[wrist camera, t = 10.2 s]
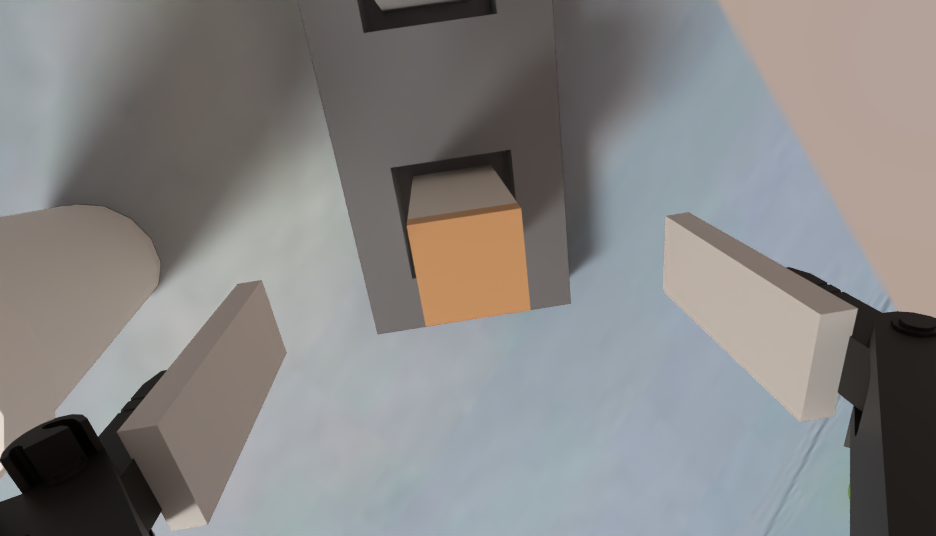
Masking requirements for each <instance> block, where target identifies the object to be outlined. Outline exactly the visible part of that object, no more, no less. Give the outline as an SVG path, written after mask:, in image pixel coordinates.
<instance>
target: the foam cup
mask: <svg viewBox="0 0 936 536" xmlns="http://www.w3.org/2000/svg"><path fill="white" fill-rule="evenodd" d="M160 265H161V262H160V260H159V258H158V255H157V253H156V250H155V248H154V245H153V243H152V240H151V239H150V238H149V237H148V236H147V235H146V234H145V233H144V232H143V231H142V230H141V229H140V228H139V227H138V226H137V225H136V224H135V223H134V222H133V221H132V220H131V219H130V218H128V217H125V216H123V215H121V214H119V213H117V212H115V211H112V210H110V209H108V208H106V207H104V206H92V205H76V204H74V205H71V206H61V207H55V208H49V209H44V210H38V211H32V212H27V213H21V214H15V215H9V216H4V217H0V457H1V454H2V452H3V451H4V450H5V449H6V448H7V447H8V446H9V445H10V444H11V443H12V442H13V441H14V440H16V439H17V438H18V437H20V436H21V435H23V434H24V433H25V432H27V431H29V430H31V429H33V428H35V427H36V426H38V425H40V424H42V423H45V422H47V421H50V420H52V419H55V411H56V409H57V408H58V407H59V406H60V405H61V403H62V402H63V401H64V400H65V398H66V397H67V396H68V395H69V394H70V392H71V391H72V390H73V389H74V388H75V386H76V385H77V384H78V383H79V381H80V380H81V379H82V378H83V377H84V375H85V374H86V373H87V372H88V371H89V369H90V368H91V367H92V366H93V364H94V363H95V362H96V361H97V360H98V358H99V357H100V356H101V355H102V354H103V352H104V351H105V350H106V349H107V348H108V346H109V345H110V344H111V343H112V341H113V340H114V339H115V338H116V337H117V335H118V334H119V333H120V332H121V331H122V329H123V328H124V327H125V326H126V324H127V323H128V322H129V321H130V320H131V318H132V317H133V316H134V315H135V314H136V312H137V311H138V310H139V309H140V307H141V306H142V305H143V304H144V302H145V301H146V300H147V299H148V298H149V296H150V295H151V294H152V293H153V291H154V290H155V288H156V287H157V286H158V283H159V274H160ZM6 473H7V471H6V470H5V468H4V467H3V465H2V464H1V463H0V479H1V478H2V477H3V476H4V475H5V474H6Z"/></svg>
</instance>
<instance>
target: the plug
mask: <svg viewBox="0 0 936 536" xmlns="http://www.w3.org/2000/svg"><path fill="white" fill-rule="evenodd" d="M407 230H408V236H409V241H410V246H411V251H412V257H413V262H414V267H415V273H416V278H417V283H418V288H419V294H420V299H421V304H422V309H423V315H424V320H425V325H426V326H432V325H439V324H445V323H452V322H458V321H464V320H471V319H477V318H484V317H490V316H497V315H503V314H509V313H516V312H522V311H529V310H531V309H530V298H529V287H528V277H527V266H526V255H525V244H524V233H523V222H522V212H521V207H520V206H519V204H518V203H517V202H516V200H515V199H514V197H513V196H512V194H511V193H510V192H509V190H508V189H507V187H506V186H505V184H504V183H503V182H502V180H501V179H500V177H499V176H498V174H497V173H496V171H495V170H494V169H493V167H492V166H491V165H485V166H478V167H472V168H465V169H458V170H451V171H445V172H438V173H431V174H424V175H418V176H413V180H412V188H411V196H410V203H409V211H408V219H407Z"/></svg>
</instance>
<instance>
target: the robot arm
mask: <svg viewBox="0 0 936 536" xmlns="http://www.w3.org/2000/svg"><path fill="white" fill-rule="evenodd" d="M663 292H664V293H666V294H667V295H668V296H669V297H670V298H671V299H672V300H673V301H674V302H675V303H676V304H677V305H678V306H679V307H680V308H681V309H682V310H683V311H684V312H685V313H686V314H688V315H689V316H690V317H691V318H692V319H693V320H694V321H695V322H696V323H697V324H698V325H699V326H700V327H701V328H702V329H703V330H704V331H705V332H706V333H707V334H708V335H710V336H711V337H712V338H713V339H714V340H715V341H716V342H717V343H718V344H719V345H720V346H721V347H722V348H723V349H724V350H725V351H726V352H727V353H728V354H729V355H731V356H732V357H733V358H734V359H735V360H736V361H737V362H738V363H739V364H740V365H741V366H742V367H743V368H744V369H745V370H746V371H747V372H748V373H749V374H750V375H751V376H753V377H754V378H755V379H756V380H757V381H758V382H759V383H760V384H761V385H762V386H763V387H764V388H765V389H766V390H767V391H768V392H769V393H770V394H771V395H772V396H773V397H775V398H776V399H777V400H778V401H779V402H780V403H781V404H782V405H783V406H784V407H785V408H786V409H787V410H788V411H789V412H790V413H791V414H792V415H793V416H794V417H796V418H797V419H798V420H799V421H800V422H806V421H811V420H817V419H823V418H829V417H834V414H835V409H836V405H837V400H838V396H839V394H840V395H841V396H843V397H844V398H845V399H846V400H848V401H849V402H850V403H851V404H853V405H854V406H853V410H852V414H851V418H850V423H849V427H848V431H847V435H846V439H845V443H844V446H845V447H849V448H850V536H936V318H933V317H931V316H927V315H922V314H917V313H910V312H898V311H897V312H887V313H881V312H880V311H878V310H876V309H874V308H872V307H870V306H869V305H867V304H865V303H863V302H861V301H860V300H858V299H856V298H854V297H852V296H850V295H849V294H847V293H845V292H841V291H840V290H839V289H838V288H836V287H834V286H832V285H827V282H825V281H823V280H821V279H819V278H818V277H816V276H814V275H812V274H810V273H807V272H803V271H800V270H797V269H793V268H790V267H787V268H786V267H784V266H782V265H780V264H779V263H777V262H775V261H773V260H772V259H770V258H768V257H766V256H764V255H763V254H761V253H759V252H757V251H756V250H754V249H752V248H750V247H749V246H747V245H745V244H743V243H742V242H740V241H738V240H736V239H735V238H733V237H731V236H729V235H728V234H726V233H724V232H722V231H721V230H719V229H717V228H715V227H713V226H712V225H710V224H708V223H706V222H705V221H703V220H701V219H699V218H698V217H696V216H694V215H692V214H691V213H689V212H688V213H681V214H675V215H669V216H666V220H665V249H664V278H663ZM286 353H287V352H286V349H285V347H284V344H283V341H282V338H281V335H280V332H279V329H278V326H277V323H276V320H275V317H274V314H273V311H272V309H271V306H270V303H269V300H268V297H267V294H266V291H265V288H264V285H263V282H262V280H260V281H253V282H247V283H241V284H237V285H236V287H235V288H234V289H233V290H232V291H231V293H230V294H229V295H228V296H227V298H226V299H225V300H224V301H223V302H222V304H221V305H220V306H219V307H218V309H217V310H216V311H215V312H214V314H213V315H212V316H211V317H210V318H209V320H208V321H207V322H206V323H205V325H204V326H203V327H202V328H201V329H200V331H199V332H198V333H197V334H196V336H195V337H194V338H193V339H192V340H191V342H190V343H189V344H188V345H187V347H186V348H185V349H184V350H183V351H182V353H181V354H180V355H179V356H178V358H177V359H176V360H175V361H174V362H173V364H172V365H171V366H170V367H169V369H168V370H165V371H161V372H159V373H158V374H157V375H155V376H154V377H153V378H151V379H150V380H149V381H147V382H146V383H144V384H143V385H142V386H141V387H140V389H139V390H138V391H137V392H136V393H135V394H134V396H133V397H132V398H131V401H129V402H128V403H127V404H126V405H125V406H124V407H123V409H122V410H121V413H118V414H117V416H116V417H115V418H114V419H113V420H112V421H111V423H110V424H109V425H108V426H107V427H106V428H105V430H104V431H103V432H102V433H101V434H100V435H99V437H98V436H97V435H96V433H95V431H94V429H93V428H92V426H91V424H90V422H89V421H88V419H87V418H86V417H84V416H83V415H76V414H71V415H67V416H62V417H58V418H55V419H52V420H50V421H47V422H45V423H42V424H40V425H38V426H36V427H35V428H33V429H31V430H29V431H27V432H25V433H24V434H23V435H21V436H20V437H18V438H17V439H16V440H14V441H13V442H12V443H11V444H10V445H9V446H8V447H7V448H6V449H5V450H4V451H3V452H2V454H1V457H0V463H1V464H2V465H3V467H4V468H5V470H6V471H7V472H8V474H9V475H10V477H11V478H12V480H13V481H14V482H15V484H16V485H17V487H18V488H19V489H20V491H21V492H22V494H21V495H18V496H15V497H13V498H10V499H7V500H4V501H2V502H0V536H155V534H154V533H153V531H152V529H151V528H152V526H153V525H154V523H155V521H156V519H157V518H158V516H159V514H160V513H161V512H162V514H163V516H164V518H165V520H166V521H167V523H168V525H169V527H170V529H171V530H172V531H175V530H181V529H187V528H193V527H198V526H204V525H208V523H209V521H210V519H211V517H212V515H213V512H214V510H215V508H216V506H217V504H218V501H219V499H220V497H221V495H222V493H223V491H224V488H225V486H226V484H227V482H228V480H229V477H230V475H231V473H232V471H233V469H234V467H235V464H236V462H237V460H238V458H239V456H240V453H241V451H242V449H243V447H244V445H245V442H246V440H247V438H248V436H249V434H250V432H251V429H252V427H253V425H254V423H255V421H256V418H257V416H258V414H259V412H260V410H261V408H262V405H263V403H264V401H265V399H266V397H267V394H268V392H269V390H270V388H271V386H272V384H273V381H274V379H275V377H276V375H277V373H278V370H279V368H280V366H281V364H282V362H283V359H284V357H285V355H286Z"/></svg>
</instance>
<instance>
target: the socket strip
mask: <svg viewBox="0 0 936 536" xmlns="http://www.w3.org/2000/svg"><path fill="white" fill-rule="evenodd" d="M298 5H299V9H300V13H301V17H302V21H303V25H304V30H305V34H306V38H307V42H308V46H309V50H310V55H311V59H312V63H313V67H314V71H315V75H316V80H317V84H318V88H319V92H320V96H321V100H322V105H323V109H324V113H325V117H326V121H327V125H328V130H329V134H330V138H331V142H332V146H333V150H334V155H335V159H336V163H337V167H338V171H339V175H340V180H341V184H342V188H343V192H344V196H345V200H346V205H347V209H348V213H349V217H350V221H351V225H352V230H353V234H354V238H355V242H356V246H357V250H358V255H359V259H360V263H361V267H362V271H363V275H364V280H365V284H366V288H367V292H368V296H369V300H370V305H371V309H372V313H373V317H374V321H375V325H376V330H377V334H383V333H390V332H396V331H402V330H408V329H415V328H421V327H427V326H426V325H425V320H424V315H423V309H422V304H421V299H420V294H419V288H418V283H417V278H416V273H415V267H414V262H413V257H412V251H411V246H410V241H409V236H408V230H407V219H408V211H409V203H410V196H411V188H412V180H413V176H418V175H424V174H431V173H438V172H445V171H451V170H458V169H465V168H472V167H478V166H485V165H491V166H492V167H493V169H494V170H495V171H496V173H497V174H498V176H499V177H500V179H501V180H502V182H503V183H504V184H505V186H506V187H507V189H508V190H509V192H510V193H511V194H512V196H513V197H514V199H515V200H516V202H517V203H518V204H519V206H520V207H521V212H522V222H523V233H524V244H525V255H526V266H527V277H528V287H529V298H530V309H531V310H534V309H540V308H546V307H553V306H559V305H565V304H571V298H570V282H569V265H568V249H567V232H566V216H565V199H564V183H563V166H562V150H561V133H560V117H559V100H558V84H557V67H556V51H555V34H554V18H553V1H552V0H465V1H458V2H451V3H444V4H437V5H431V6H424V7H417V8H410V9H403V10H396V11H389V12H383V11H382V10H381V9H380V7H379V6H378V4H377V3H376V2H375V0H298ZM464 321H465V320H464ZM458 322H459V321H458ZM445 324H446V323H445ZM439 325H440V324H439ZM432 326H433V325H432Z"/></svg>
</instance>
